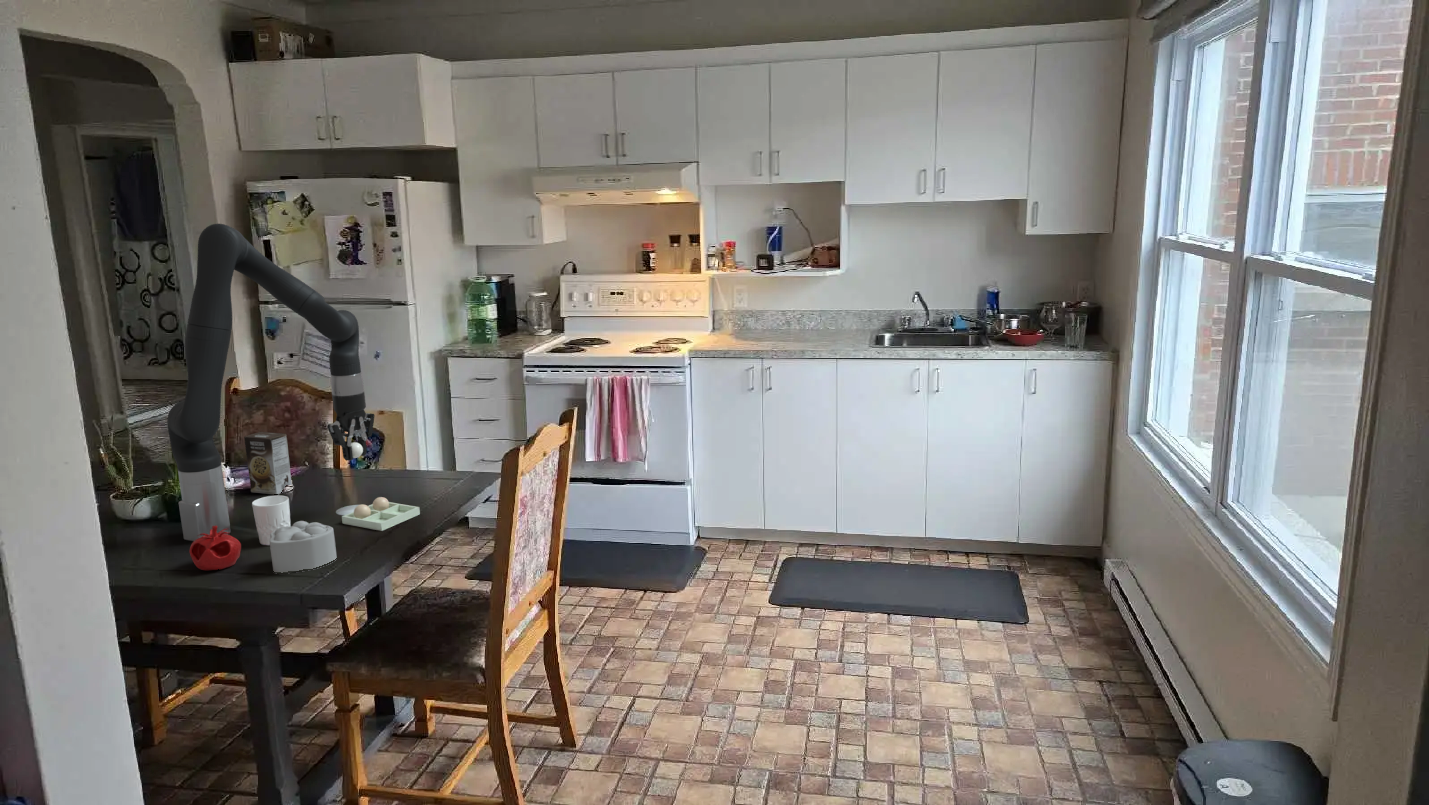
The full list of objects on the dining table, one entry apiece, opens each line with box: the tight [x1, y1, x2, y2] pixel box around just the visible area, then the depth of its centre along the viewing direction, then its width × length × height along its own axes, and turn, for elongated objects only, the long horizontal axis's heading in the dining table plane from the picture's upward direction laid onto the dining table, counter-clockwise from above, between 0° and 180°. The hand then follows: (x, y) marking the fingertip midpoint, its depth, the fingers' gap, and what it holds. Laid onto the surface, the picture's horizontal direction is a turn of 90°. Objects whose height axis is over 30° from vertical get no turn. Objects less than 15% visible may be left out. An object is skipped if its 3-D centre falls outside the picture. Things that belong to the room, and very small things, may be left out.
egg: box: [351, 441, 363, 459], centre depth 233 cm, size 4×4×4 cm
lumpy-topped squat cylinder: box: [269, 520, 337, 573], centre depth 206 cm, size 10×13×9 cm
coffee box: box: [243, 431, 293, 495], centre depth 257 cm, size 9×6×16 cm
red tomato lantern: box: [189, 526, 242, 571], centre depth 205 cm, size 10×10×9 cm
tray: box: [341, 496, 421, 532], centre depth 232 cm, size 13×13×5 cm
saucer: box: [335, 504, 359, 516], centre depth 239 cm, size 8×8×1 cm
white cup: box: [251, 494, 292, 546], centre depth 220 cm, size 8×8×10 cm
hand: (355, 457), depth 234 cm, fingers closed on egg, 4 cm apart
